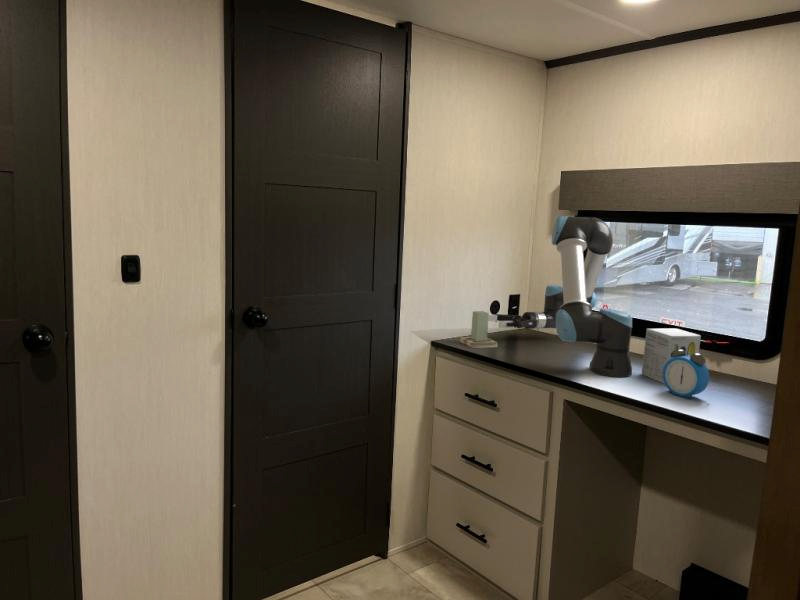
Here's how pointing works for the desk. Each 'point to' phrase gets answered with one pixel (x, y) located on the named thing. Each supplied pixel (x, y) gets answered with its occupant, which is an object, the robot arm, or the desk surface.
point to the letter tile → (478, 343)
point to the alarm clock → (686, 373)
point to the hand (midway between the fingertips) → (491, 321)
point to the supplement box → (666, 349)
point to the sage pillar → (479, 326)
